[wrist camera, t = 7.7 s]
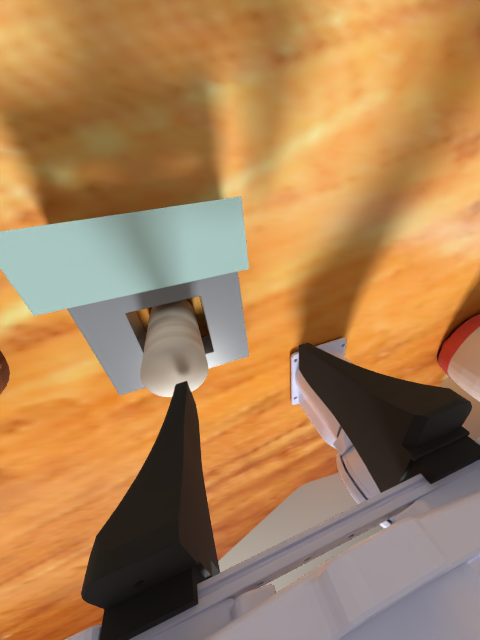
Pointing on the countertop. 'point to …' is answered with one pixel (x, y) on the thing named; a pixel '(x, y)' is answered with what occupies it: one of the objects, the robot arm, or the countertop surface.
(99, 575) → the robot arm
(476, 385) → the citrus juicer
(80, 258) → the socket block
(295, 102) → the countertop surface
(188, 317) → the peg
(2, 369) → the food container
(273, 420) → the countertop surface
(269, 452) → the countertop surface
